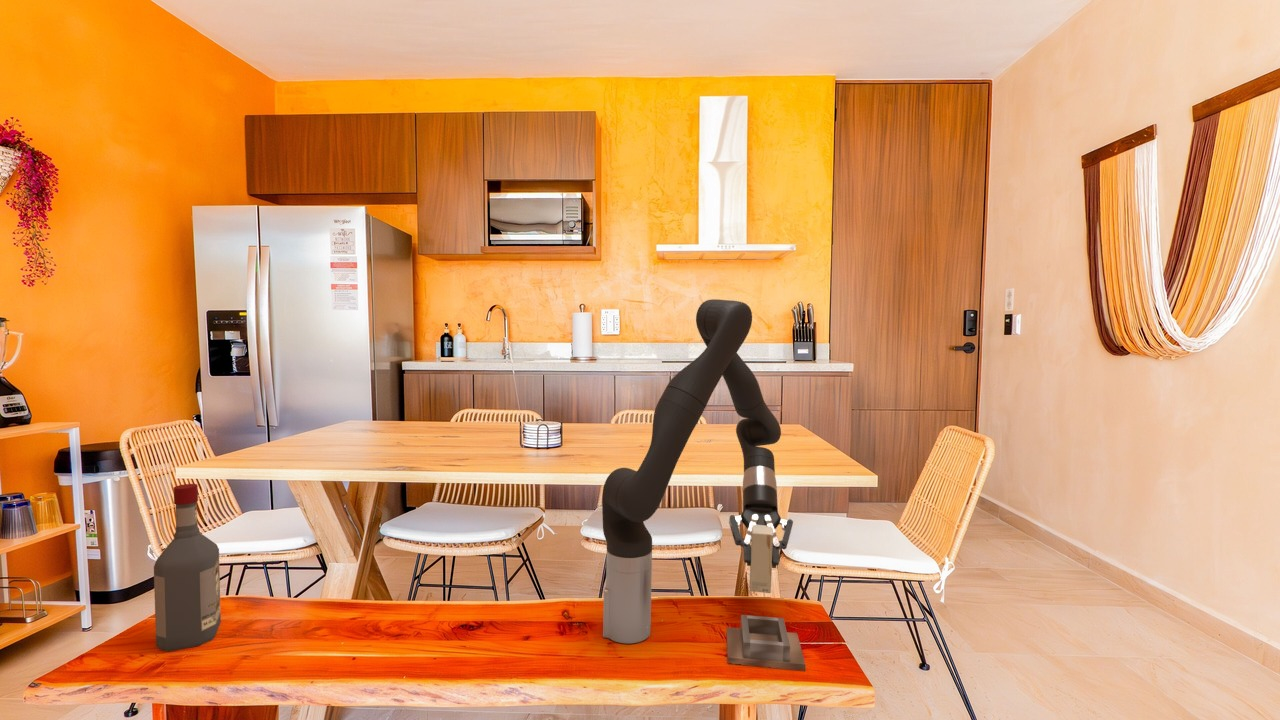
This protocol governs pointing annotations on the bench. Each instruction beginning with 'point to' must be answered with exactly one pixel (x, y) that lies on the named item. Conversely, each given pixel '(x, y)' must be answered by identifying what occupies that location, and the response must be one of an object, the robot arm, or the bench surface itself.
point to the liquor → (187, 581)
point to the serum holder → (764, 644)
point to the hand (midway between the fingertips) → (761, 565)
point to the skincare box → (761, 558)
